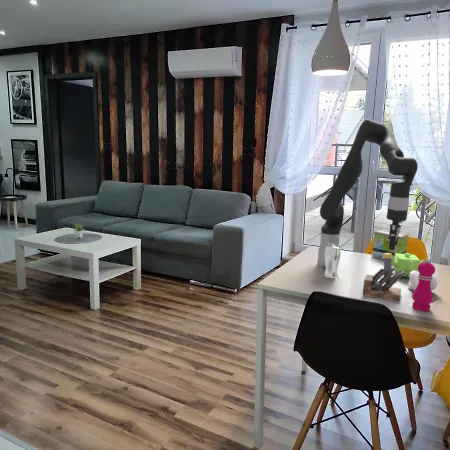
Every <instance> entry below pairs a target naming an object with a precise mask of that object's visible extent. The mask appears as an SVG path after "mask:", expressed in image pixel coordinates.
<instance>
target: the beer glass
mask: <svg viewBox="0 0 450 450" xmlns="http://www.w3.org/2000/svg"><path fill="white" fill-rule="evenodd" d="M340 259H341V245H340V244H339V245H336V244H327V245H326V249H325V266H326V268H325V271H324V274H323V277H324V278H327V279H331V280H334V279H338V266H339V264H340Z"/></svg>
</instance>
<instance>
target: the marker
mask: <svg viewBox="0 0 450 450" xmlns="http://www.w3.org/2000/svg"><path fill="white" fill-rule="evenodd" d="M392 268H393V265H392V254H391V253H384V259H383V269H384V270H385V271H386V273H385V274H384V275H383V277H384V279H385V278H386V277H387V276H388V275H389V274H390V273H391V272H392ZM391 278H392V276H391V277H390V278H389V279H388V280H387V281H386V282H385V283H389V282H390V281H391ZM385 283H384V284H385Z"/></svg>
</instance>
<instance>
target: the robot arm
mask: <svg viewBox="0 0 450 450" xmlns="http://www.w3.org/2000/svg"><path fill="white" fill-rule="evenodd" d="M366 142H368V143H372V144H376V145H378V146H379V153H380V155H381V157H382V158H383V159H384V160H385V162H386V165H387V169H388V172H389V174H391V175H393V176H402V177H401V178H400V180H397V181H394V182H392V183H391V185H390V190H389V197H388V201H387V202H388V203H387V212H386V219H387V220H389V221H392V222H391V223H390V224H389V230H388V231H389V240H390V242H389V249H390V250H394V249H395V246H396V245H397V242H398V237H397V236H399V233H401V229H402V222H405V221H407V219H408V212H409V206H410V205H409V203H410V201H409V200H410V197H409V196H410V190H411V186H412V184H413V181H414V178H415V177H416V174H417V172H418V168H419V166H418V165H419V163H418V162H417V160H416V159H415V158H414V157H405V156H404V155H405V154H404V152H403V150H402V149H400V147H399V146H398V145H397V143H395V142H394V140H393V138H392V136H391V134H390V132H389V130H388V128H387V127H386V125H385V124H383V123H381V122H378V121H375V120H372V119H368V118H367V119H364V120H362V122H361V124H360V126H359V127H358V130H357V131H356V135H355V137H354V140H353V143H352V145H351V147H350V150H349V152H348V153H347V156H346V158H345V160H344V162H343V164H342V166H341V168H340V169H339V172H338V175H337V177H336V179H335V180H334V182H333V185H332V187H331V189H330V191H329V193H328V194H327V196H326V198H325V199H324V201H323V202H322V204H321V205H320V209H319V215H320V217H321V219H323V220H324V221H325V223H324V224H322V226H321V227H320V240H319V241H320V243H319V247H318V253H317V264H316V265H317V267H318V266H319V267H321V268H325V269H326V266H325V249H326V245H327V244H336V245H339V246H340V236H341V234H340V233H341V229H342V227H343V221H344V216H345V215H344V214H345V209H344V205H343V204H342V203H341V202H342V200H343V199H344V197H346V195H347V194H348V193H349V192H350V191H351V190H352V188H353V187H354V186H355V185H356V183H357V181H358V180H359V178H360V177H361V174H362V171H363V158H362V156H363V155H362V154H363V148H364V145H365V143H366ZM391 236H392V237H391Z"/></svg>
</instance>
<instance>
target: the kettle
mask: <svg viewBox="0 0 450 450" xmlns="http://www.w3.org/2000/svg"><path fill="white" fill-rule="evenodd" d="M423 262H425V259H421V260H420V259H419V258H418V257H417V255H415V254H412V253H409V252H406V253H405V254H399V253H395V260H394V258H393V256H392V268H394V269H395V270H394V271H393V272H395V273H397V272H398V271H399V270H402V272H404V273H405V274H404V275H403V276H402V277H401V278H400V279H402V278H403V277H409V275H410V272H411V271H418V266H419V264H420V263H423ZM402 272H401V273H402Z"/></svg>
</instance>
